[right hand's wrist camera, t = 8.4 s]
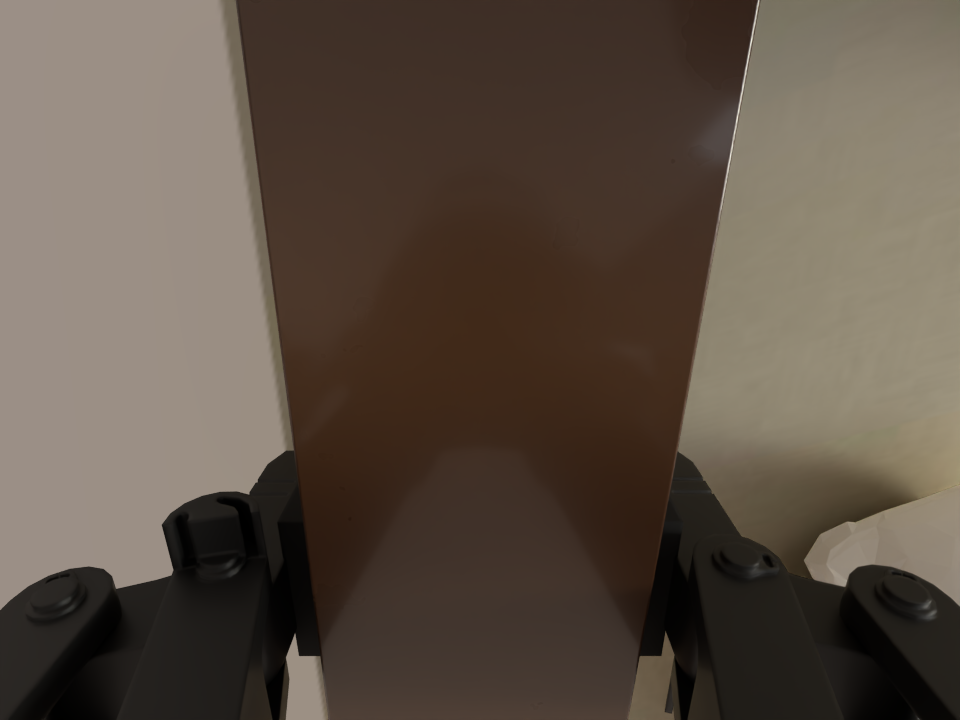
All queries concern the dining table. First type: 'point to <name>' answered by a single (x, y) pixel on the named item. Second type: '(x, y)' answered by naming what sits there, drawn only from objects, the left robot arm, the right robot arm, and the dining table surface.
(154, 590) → the right robot arm
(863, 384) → the dining table surface
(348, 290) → the walnut beam
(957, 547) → the skull
